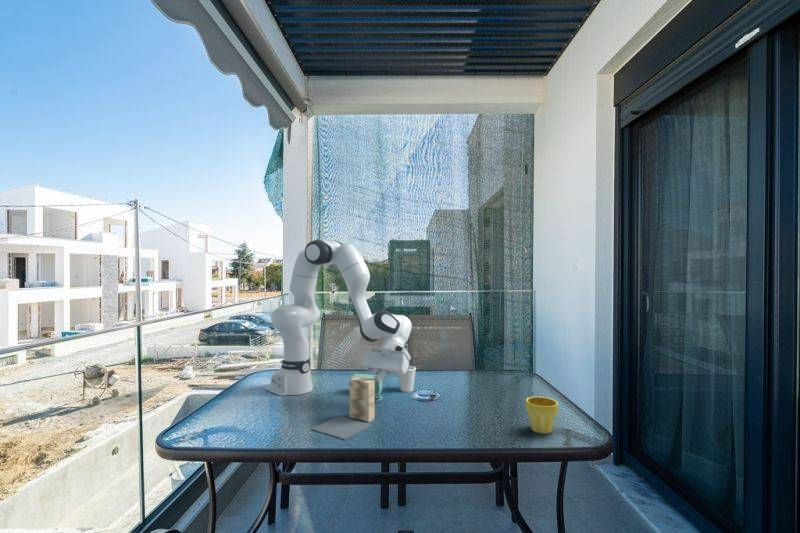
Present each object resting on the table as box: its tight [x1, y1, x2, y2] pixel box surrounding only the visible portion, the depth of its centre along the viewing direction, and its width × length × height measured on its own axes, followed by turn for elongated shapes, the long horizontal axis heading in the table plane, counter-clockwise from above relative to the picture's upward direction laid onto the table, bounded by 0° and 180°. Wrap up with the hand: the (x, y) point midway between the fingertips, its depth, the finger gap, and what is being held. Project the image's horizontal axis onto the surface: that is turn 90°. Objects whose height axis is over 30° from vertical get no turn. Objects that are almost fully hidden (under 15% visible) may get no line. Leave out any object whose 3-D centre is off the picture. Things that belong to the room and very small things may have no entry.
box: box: [349, 373, 384, 396], centre depth 182 cm, size 7×14×8 cm, turn 77°
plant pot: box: [525, 396, 559, 435], centre depth 139 cm, size 10×10×10 cm
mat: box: [311, 415, 372, 441], centre depth 142 cm, size 15×14×1 cm
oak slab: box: [349, 377, 376, 423], centre depth 151 cm, size 9×4×14 cm, turn 56°
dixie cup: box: [398, 365, 417, 393], centre depth 185 cm, size 8×8×10 cm
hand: (376, 381), depth 158 cm, fingers closed
